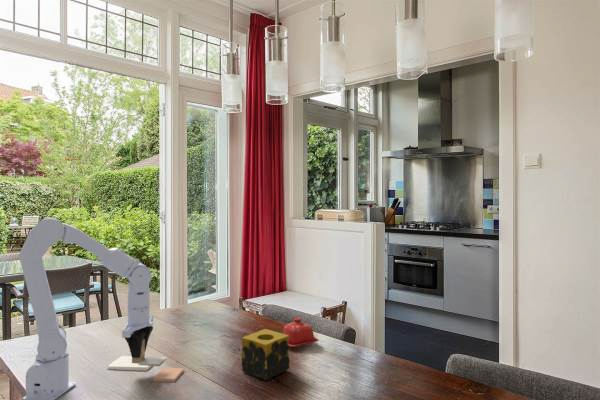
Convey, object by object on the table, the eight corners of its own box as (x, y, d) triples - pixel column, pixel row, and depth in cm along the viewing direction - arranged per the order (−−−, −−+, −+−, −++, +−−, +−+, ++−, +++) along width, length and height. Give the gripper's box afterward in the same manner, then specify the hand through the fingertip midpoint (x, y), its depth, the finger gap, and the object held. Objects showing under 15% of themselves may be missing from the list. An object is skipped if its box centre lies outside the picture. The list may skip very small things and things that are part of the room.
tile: (153, 383, 112) (174, 383, 111) (153, 378, 112) (174, 378, 111) (163, 372, 119) (183, 372, 118) (163, 367, 119) (183, 368, 118)
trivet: (147, 370, 119) (147, 367, 119) (107, 369, 120) (107, 366, 120) (158, 360, 127) (158, 357, 127) (121, 359, 128) (121, 356, 128)
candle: (265, 361, 126) (265, 328, 126) (290, 369, 120) (290, 334, 120) (240, 371, 118) (240, 336, 118) (266, 381, 112) (265, 344, 112)
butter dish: (275, 340, 145) (275, 316, 145) (304, 335, 151) (304, 311, 151) (290, 350, 135) (290, 324, 135) (320, 344, 141) (320, 319, 141)
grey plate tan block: (159, 366, 113) (159, 344, 113) (129, 364, 113) (129, 342, 113) (166, 359, 118) (167, 338, 118) (138, 358, 118) (138, 337, 118)
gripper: (140, 314, 108) (140, 365, 108) (163, 301, 123) (162, 346, 123) (114, 313, 109) (114, 365, 109) (140, 300, 123) (140, 346, 123)
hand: (138, 355), depth 116 cm, fingers closed on grey plate tan block, 2 cm apart
